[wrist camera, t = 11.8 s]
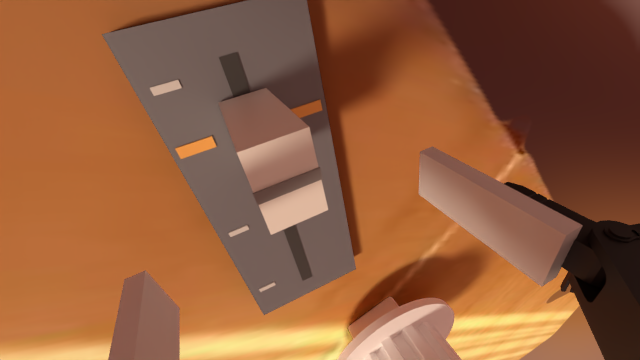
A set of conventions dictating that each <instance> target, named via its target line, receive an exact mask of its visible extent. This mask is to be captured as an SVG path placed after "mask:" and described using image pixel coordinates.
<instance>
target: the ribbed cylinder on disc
mask: <svg viewBox="0 0 640 360" xmlns="http://www.w3.org/2000/svg"><path fill="white" fill-rule="evenodd" d="M453 323H454V312H453V310H452V309H451V308H450V307H449V305H448V304H447V303H446V302H445V301H443V300H442V299H439V298H423V299H418V300H415V301H412V302H409V303H406V304H404V305H402V306H398V304H397V303H396V302H395V300H394V299H393V298H392V297H388V298H386V299H385V300H383V301H382V302H381V303H379V304H378V305H377V306H375V307H374V308H372V309H371V310H370V311H368V312H367V313H366V314H364V315H363V316H362V317H360V318H359V319H357V320H356V321H355V322H353V323H352V324H351V325H350V326H349V327H348V330H349V332H350V334H351V336H352V338H353V340H352V341H351V342H350V343H349V344H348V345H347V346H346V348H345V349H344V350H343V351H342V353H341V354H340V355H339V357H338V359H337V360H461V358H460V357H459V356H458V355H457V353H456V352H455V351H454V350H453V348H452V347H451V346H450V345H449V344H448V342H447V341H446V340H445V339H446V338H447V336H448V334H449V333H450V331H451V328H452V326H453Z"/></svg>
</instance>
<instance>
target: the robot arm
mask: <svg viewBox="0 0 640 360" xmlns="http://www.w3.org/2000/svg"><path fill="white" fill-rule="evenodd" d="M419 195H421V196H422V197H423V198H424V199H426V200H427V201H428V202H430V203H431V204H432V205H434V206H435V207H436V208H438V209H439V210H440V211H442V212H443V213H444V214H446V215H447V216H448V217H450V218H451V219H452V220H454V221H455V222H456V223H458V224H459V225H460V226H462V227H463V228H464V229H466V230H467V231H468V232H470V233H471V234H472V235H474V236H475V237H476V238H478V239H479V240H480V241H482V242H483V243H484V244H486V245H487V246H488V247H490V248H491V249H492V250H494V251H495V252H496V253H498V254H499V255H500V256H502V257H503V258H504V259H506V260H507V261H508V262H510V263H511V264H512V265H514V266H515V267H516V268H518V269H519V270H520V271H522V272H523V273H524V274H526V275H527V276H528V277H530V278H531V279H532V280H534V281H535V282H536V283H538V284H539V285H540V286H541V287H542V286H543V285H545V284H546V283H548V282H549V281H551V280H553V279H554V278H556V276H557V275H558V273H559V271H560V269H561V267H563V268H564V269H566V270H567V271H568V273H567V275H566V277H565V279H564V280H563V282H562V284H561V291H566V289H567V287H568V285H569V284H570V285H571V290H570V292H572V293H575V296H576V298H577V300H578V302H579V304H580V306H581V309H582V311H583V313H584V315H585V317H586V319H587V322H588V324H589V326H590V328H591V331H592V333H593V335H594V337H595V339H596V341H597V344H598V346H599V348H600V350H601V352H602V355H603V357H604V359H605V360H640V224H635V225H627V224H624V223H621V222H617V221H610V220H607V221H599V222H594V221H592V220H590V219H588V218H586V217H584V216H581V215H580V214H578V213H576V212H574V211H571V210H570V209H567V208H566V207H564V206H562V205H560V204H558V203H556V202H554V201H552V200H550V199H549V200H547V198H546V197H544V196H542V195H540V194H536V192H534V191H532V190H530V189H528V188H526V187H524V186H521V185H517V184H514V183H510V182H506V183H504V184H503V183H501V182H499V181H497V180H495V179H493V178H491V177H490V176H488V175H486V174H484V173H482V172H480V171H478V170H476V169H474V168H472V167H470V166H469V165H467V164H465V163H463V162H461V161H459V160H457V159H455V158H453V157H451V156H449V155H448V154H446V153H444V152H442V151H440V150H438V149H436V148H434V147H430V148H428V149H425V150H423V151H421V152H420V169H419ZM108 360H179V307H178V306H177V305H176V304H175V303H174V302H173V301H172V299H171V298H170V297H169V296H168V295H167V294H166V293H165V292H164V290H163V289H162V288H161V287H160V286H159V285H158V284H157V283H156V282H155V280H154V279H153V278H152V277H151V276H150V275H149V274H148V273H147V272H146V270H145V271H143V272H141V273H138V274H136V275H134V276H132V277H129V278H127V279H125V280H124V285H123V290H122V295H121V300H120V305H119V310H118V315H117V319H116V324H115V329H114V334H113V339H112V344H111V349H110V354H109V359H108Z"/></svg>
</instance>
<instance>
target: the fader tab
mask: <svg viewBox="0 0 640 360" xmlns="http://www.w3.org/2000/svg"><path fill="white" fill-rule="evenodd" d="M218 104H219V107H220V110H221V112H222V115H223V118H224V120H225V123H226V126H227V128H228V131H229V134H230V136H231V139H232V142H233V144H234V147H235V150H236V152H237V155H238V157H239V160H240V162H241V164H242V167H243V169H244V171H245V174H246V176H247V179H248V181H249V183H250V186H251V188H252V191H253V196H254V198H255V200H256V203H257V205H259V207H260V210H261V212H262V215H263V217H264V219H265V222H266V224H267V226H268V229H269V231H270V234H271V235H272V234H274V233H277V232H279V231H281V230H284V229H286V228H288V227H290V226H293V225H295V224H297V223H300V222H302V221H304V220H306V219H309V218H311V217H313V216H316V215H318V214H320V213H323V212H325V211H327V210H328V206H327V202H326V197H325V193H324V189H323V184H322V179H323V178H322V173H321V169H320V167H318V162H317V158H316V154H315V149H314V145H313V141H312V136H311V132H310V128H309V126H308V125H307V124H306V123H304V122H303V121H302V120H301V119H300V118H299V117H298V116H297V115H296V114H294V113H293V112H292V111H291V110H290V109H289V108H288V107H287V106H286V105H285V104H283V103H282V102H281V101H280V100H279V99H278V98H277V97H276V96H275V95H273V94H272V93H271V92H270V91H269V90H268V89H267V88H264V89H260V90H257V91H254V92H251V93H248V94H244V95H241V96H238V97H235V98H232V99H228V100H225V101H222V102H219V103H218Z"/></svg>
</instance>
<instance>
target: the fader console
mask: <svg viewBox="0 0 640 360" xmlns="http://www.w3.org/2000/svg"><path fill="white" fill-rule="evenodd" d="M102 35H103V37H104V39H105V41H106V42H107V44H108V46H109V47H110V49H111V51H112V53H113V54H114V56H115V58H116V60H117V61H118V63H119V65H120V67H121V68H122V70H123V72H124V73H125V75H126V77H127V79H128V80H129V82H130V84H131V86H132V87H133V89H134V91H135V92H136V94H137V96H138V98H139V99H140V101H141V103H142V105H143V106H144V108H145V110H146V112H147V113H148V115H149V117H150V118H151V120H152V122H153V124H154V125H155V127H156V129H157V131H158V132H159V134H160V136H161V137H162V139H163V141H164V143H165V144H166V146H167V148H168V150H169V151H170V153H171V155H172V157H173V158H174V160H175V162H176V163H177V165H178V167H179V169H180V170H181V172H182V174H183V176H184V177H185V179H186V181H187V183H188V184H189V186H190V188H191V189H192V191H193V193H194V195H195V196H196V198H197V200H198V202H199V203H200V205H201V207H202V208H203V210H204V212H205V214H206V215H207V217H208V219H209V221H210V222H211V224H212V226H213V228H214V229H215V231H216V233H217V234H218V236H219V238H220V240H221V241H222V243H223V245H224V247H225V248H226V250H227V252H228V253H229V255H230V257H231V259H232V260H233V262H234V264H235V266H236V267H237V269H238V271H239V273H240V274H241V276H242V278H243V279H244V281H245V283H246V285H247V286H248V288H249V290H250V292H251V293H252V295H253V297H254V298H255V300H256V302H257V304H258V305H259V307H260V309H261V311H262V312H263V314H264V315H265V314H267V313H269V312H271V311H273V310H275V309H277V308H279V307H281V306H283V305H285V304H287V303H289V302H291V301H293V300H295V299H297V298H299V297H301V296H303V295H305V294H307V293H309V292H311V291H313V290H315V289H317V288H319V287H321V286H323V285H325V284H327V283H329V282H331V281H333V280H335V279H337V278H339V277H341V276H343V275H345V274H347V273H349V272H351V271H353V270H355V269H356V267H355V261H354V256H353V250H352V245H351V239H350V234H349V228H348V223H347V217H346V212H345V206H344V201H343V195H342V190H341V184H340V179H339V173H338V168H337V163H336V157H335V152H334V146H333V141H332V135H331V130H330V124H329V119H328V113H327V108H326V102H325V97H324V91H323V86H322V80H321V75H320V70H319V64H318V59H317V53H316V48H315V42H314V37H313V31H312V26H311V20H310V15H309V9H308V4H307V0H247V1H243V2H238V3H234V4H230V5H225V6H221V7H217V8H213V9H208V10H204V11H200V12H195V13H191V14H187V15H183V16H178V17H174V18H170V19H165V20H161V21H157V22H153V23H148V24H144V25H140V26H135V27H131V28H127V29H123V30H118V31H114V32H110V33H105V34H102ZM264 88H267V89H268V90H269V91H270V92H271V93H272V94H273V95H275V96H276V97H277V98H278V99H279V100H280V101H281V102H282V103H283V104H285V105H286V106H287V107H288V108H289V109H290V110H291V111H292V112H293V113H294V114H296V115H297V116H298V117H299V118H300V119H301V120H302V121H303V122H304V123H306V124H307V125H308V126H309V128H310V132H311V136H312V141H313V145H314V149H315V154H316V158H317V162H318V167H320V169H321V173H322V178H323V179H322V184H323V189H324V193H325V197H326V202H327V206H328V210H327V211H325V212H323V213H320V214H318V215H316V216H313V217H311V218H309V219H306V220H304V221H302V222H300V223H297V224H295V225H293V226H290V227H288V228H286V229H284V230H281V231H279V232H277V233H274V234H272V235H271V234H270V231H269V229H268V226H267V224H266V222H265V219H264V217H263V215H262V212H261V210H260V207H259V205H257V203H256V200H255V198H254V196H253V191H252V188H251V186H250V183H249V181H248V179H247V176H246V174H245V171H244V169H243V167H242V164H241V162H240V160H239V157H238V155H237V152H236V150H235V147H234V144H233V142H232V139H231V136H230V134H229V131H228V128H227V126H226V123H225V120H224V118H223V115H222V112H221V110H220V107H219V104H218V103H219V102H222V101H225V100H228V99H232V98H235V97H238V96H241V95H244V94H248V93H251V92H254V91H257V90H260V89H264Z"/></svg>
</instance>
